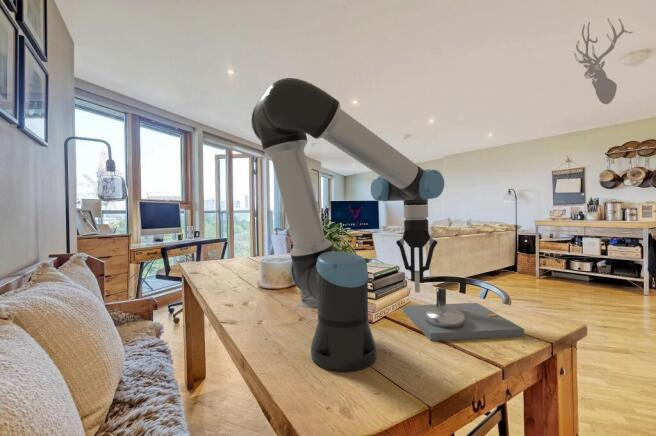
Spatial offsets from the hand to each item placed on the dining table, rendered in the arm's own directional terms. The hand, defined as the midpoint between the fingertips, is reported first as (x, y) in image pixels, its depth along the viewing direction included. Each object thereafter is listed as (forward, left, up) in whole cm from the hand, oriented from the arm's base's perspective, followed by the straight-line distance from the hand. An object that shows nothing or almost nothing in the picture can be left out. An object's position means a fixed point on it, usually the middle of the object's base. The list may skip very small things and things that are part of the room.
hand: (417, 291), depth 98 cm
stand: (+8, -10, -7) cm, 15 cm away
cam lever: (+4, -10, -5) cm, 12 cm away
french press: (-33, +14, -7) cm, 37 cm away
